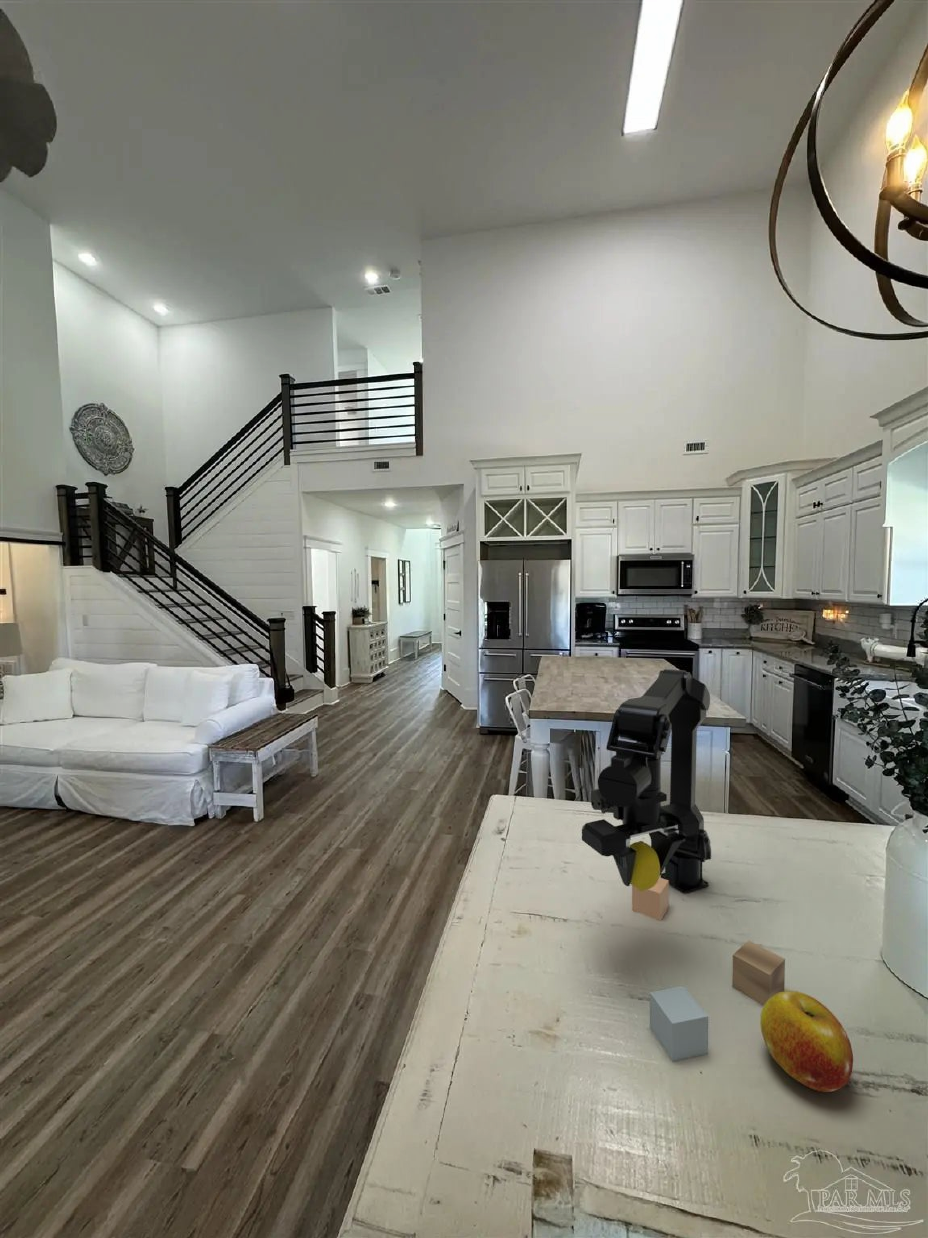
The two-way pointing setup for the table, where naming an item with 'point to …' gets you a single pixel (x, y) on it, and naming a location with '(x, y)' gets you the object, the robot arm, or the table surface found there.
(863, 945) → the table surface
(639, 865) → the lemon
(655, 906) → the terracotta block
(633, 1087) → the table surface
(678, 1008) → the slate block
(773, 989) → the walnut block
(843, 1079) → the fruit
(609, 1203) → the table surface
